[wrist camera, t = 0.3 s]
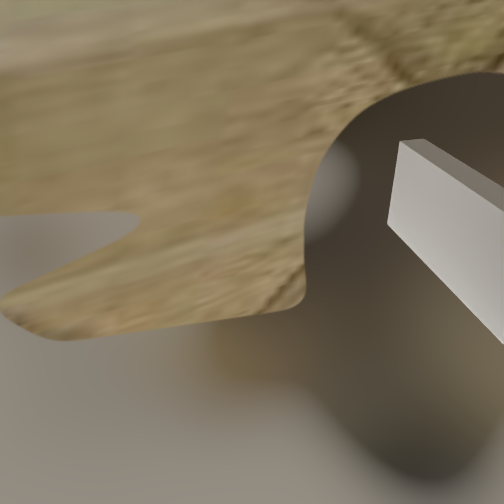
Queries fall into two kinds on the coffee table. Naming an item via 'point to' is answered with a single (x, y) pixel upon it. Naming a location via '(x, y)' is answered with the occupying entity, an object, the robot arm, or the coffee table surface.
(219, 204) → the coffee table surface
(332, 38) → the coffee table surface
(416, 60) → the coffee table surface
